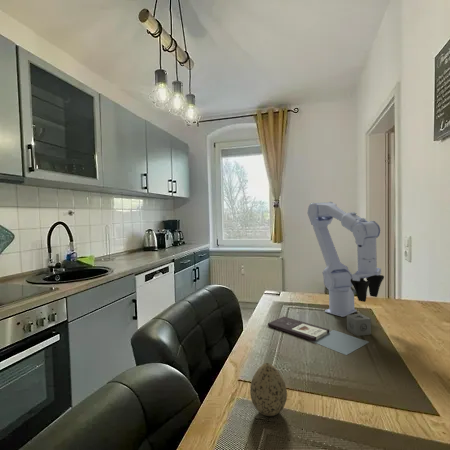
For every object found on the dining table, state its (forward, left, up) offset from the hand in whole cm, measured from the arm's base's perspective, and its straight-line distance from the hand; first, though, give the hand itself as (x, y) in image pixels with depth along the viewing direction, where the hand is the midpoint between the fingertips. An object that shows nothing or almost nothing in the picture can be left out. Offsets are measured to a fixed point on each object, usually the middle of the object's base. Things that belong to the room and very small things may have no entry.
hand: (367, 298), depth 97 cm
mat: (+17, 0, -10) cm, 20 cm away
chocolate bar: (+19, -14, -9) cm, 26 cm away
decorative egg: (+55, +9, -10) cm, 57 cm away
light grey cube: (+6, 0, -10) cm, 12 cm away
